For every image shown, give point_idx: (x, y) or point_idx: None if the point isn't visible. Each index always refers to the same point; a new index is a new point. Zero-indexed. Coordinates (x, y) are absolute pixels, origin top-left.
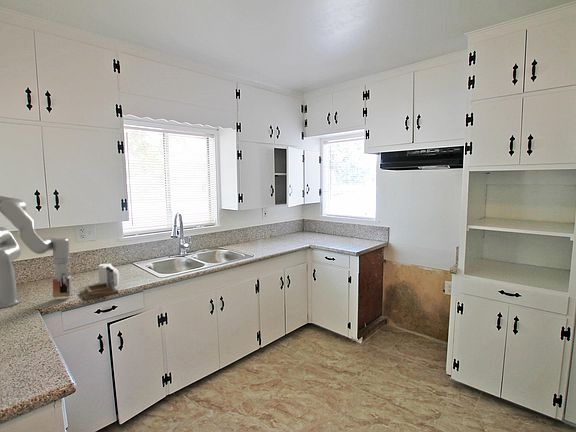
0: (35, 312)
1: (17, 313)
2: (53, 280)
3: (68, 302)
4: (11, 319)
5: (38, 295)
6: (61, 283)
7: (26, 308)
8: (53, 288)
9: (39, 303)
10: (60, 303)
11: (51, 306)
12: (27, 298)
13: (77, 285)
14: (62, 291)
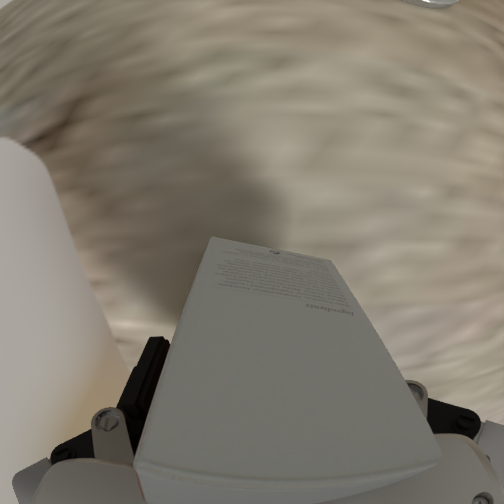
0: (17, 119)
1: (78, 4)
2: (139, 445)
3: (116, 333)
4: (6, 23)
5: (484, 127)
6: (100, 451)
7: (154, 22)
8: (186, 302)
9: (238, 102)
10: (118, 281)
11: (76, 214)
12: (454, 51)
13: (491, 360)
14: (135, 366)
